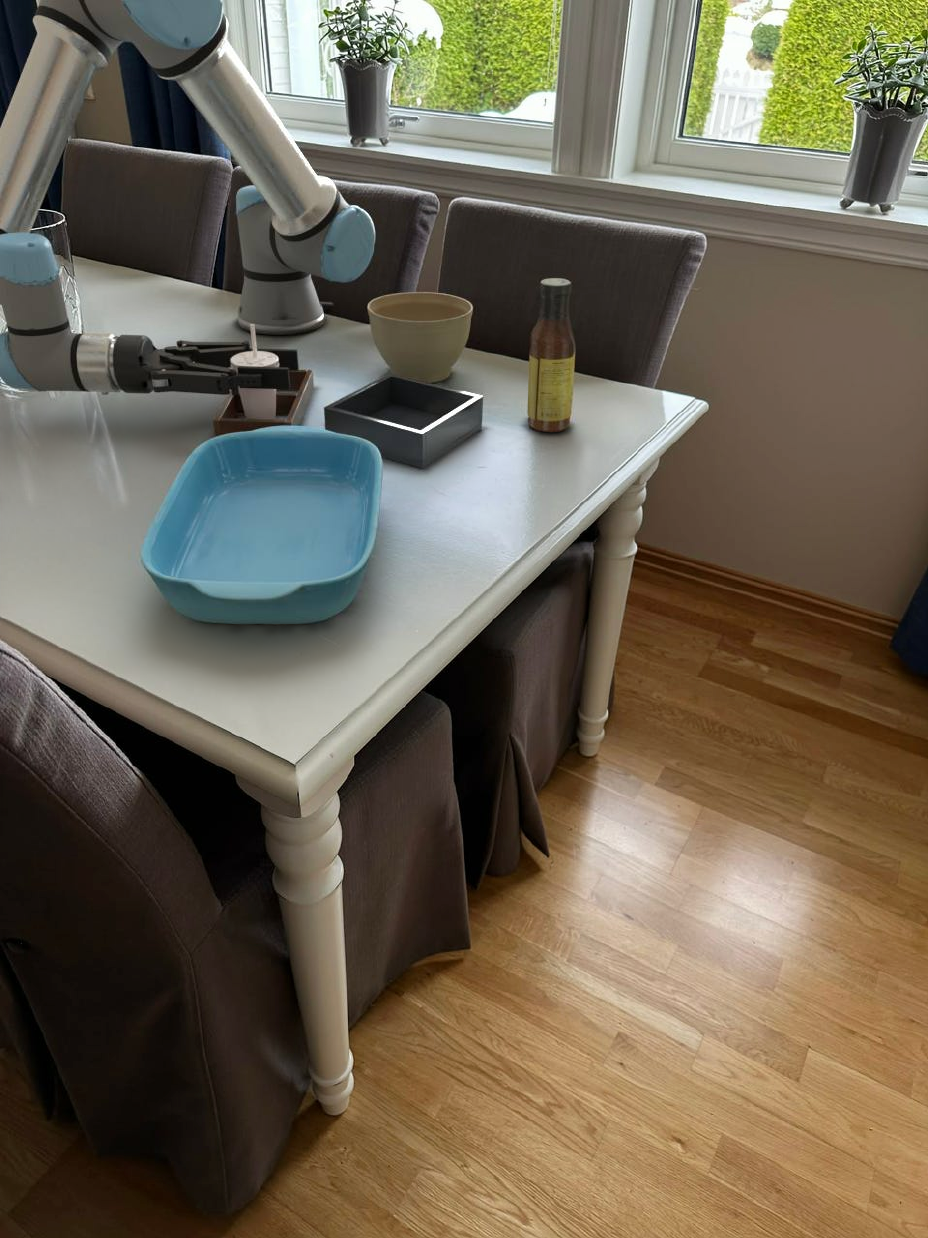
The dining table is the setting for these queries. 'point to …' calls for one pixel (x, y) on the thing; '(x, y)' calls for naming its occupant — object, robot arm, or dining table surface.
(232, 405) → the brown shallow wooden box
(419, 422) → the dark grey square tray
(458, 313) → the planter bowl
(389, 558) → the dining table surface
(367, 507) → the casserole dish
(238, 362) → the smoothie
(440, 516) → the dining table surface
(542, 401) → the sauce bottle
